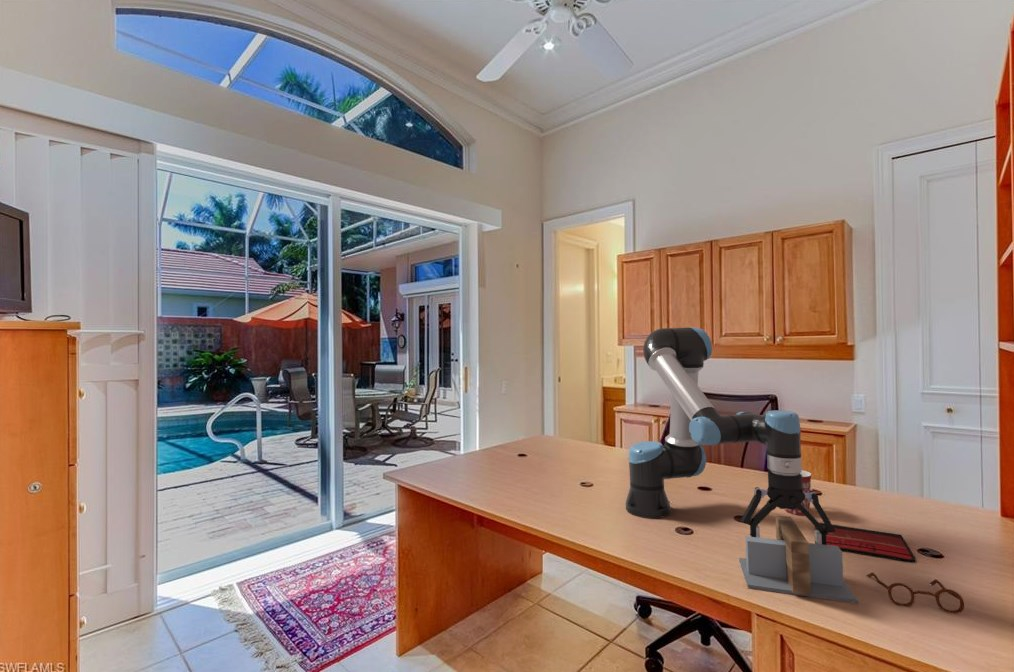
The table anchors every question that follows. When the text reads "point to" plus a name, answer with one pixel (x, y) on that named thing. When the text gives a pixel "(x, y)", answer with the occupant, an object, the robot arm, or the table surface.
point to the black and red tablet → (870, 543)
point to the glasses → (923, 593)
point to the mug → (806, 489)
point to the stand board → (770, 572)
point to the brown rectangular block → (795, 555)
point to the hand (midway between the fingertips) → (787, 554)
